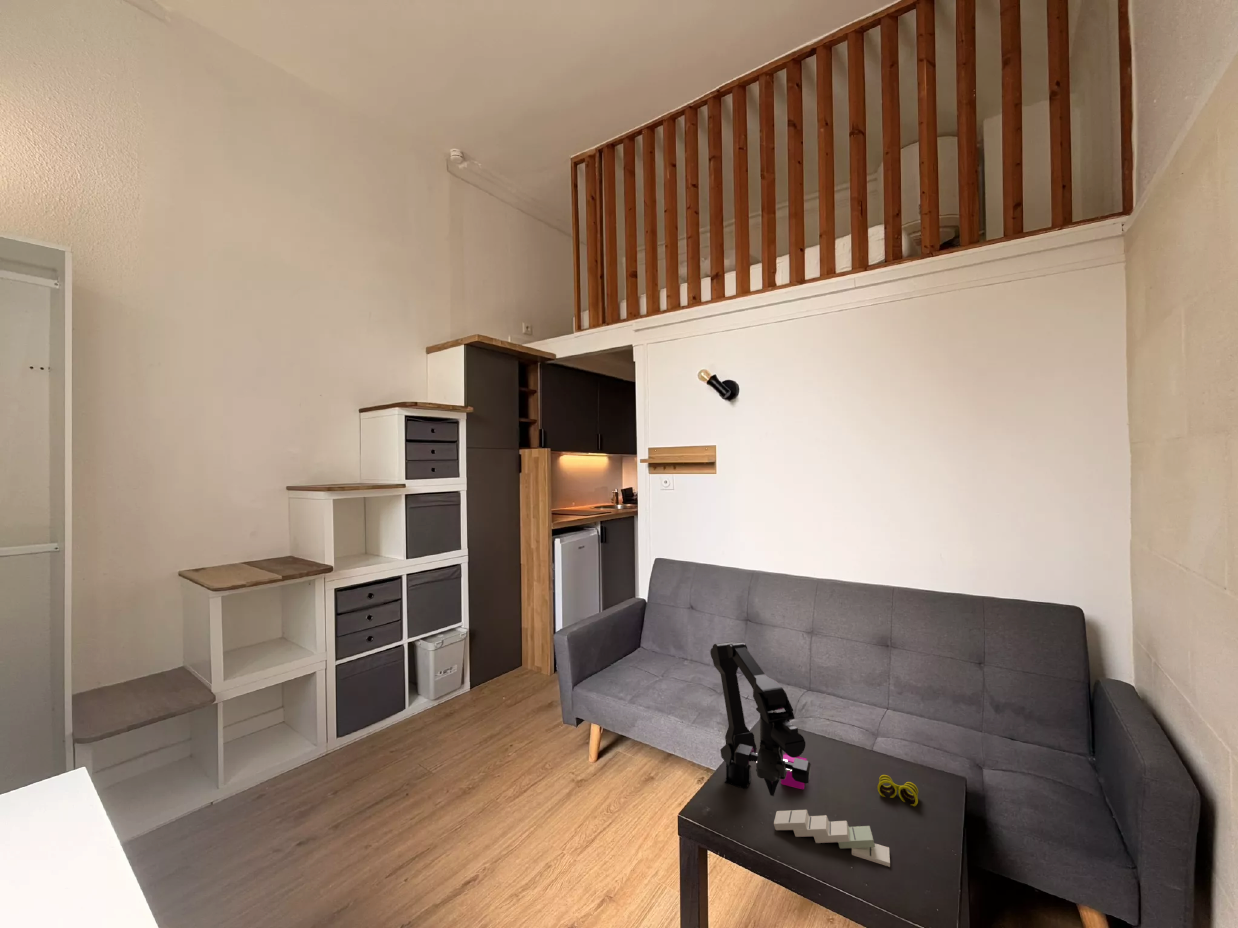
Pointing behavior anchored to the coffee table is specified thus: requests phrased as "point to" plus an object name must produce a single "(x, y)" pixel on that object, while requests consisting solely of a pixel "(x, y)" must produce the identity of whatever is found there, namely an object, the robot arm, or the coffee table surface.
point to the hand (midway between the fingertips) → (772, 794)
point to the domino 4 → (874, 854)
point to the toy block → (789, 779)
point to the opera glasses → (901, 790)
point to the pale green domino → (859, 838)
